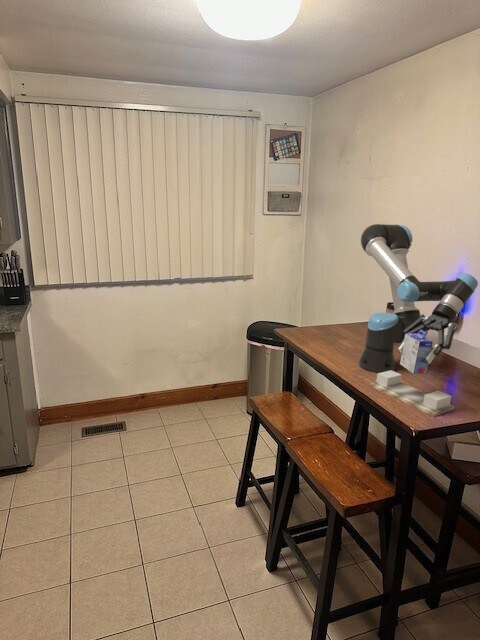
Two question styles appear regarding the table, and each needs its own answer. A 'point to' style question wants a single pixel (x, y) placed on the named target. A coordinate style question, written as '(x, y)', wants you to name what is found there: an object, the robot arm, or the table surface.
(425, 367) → the ink cartridge box
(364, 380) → the table surface
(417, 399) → the rail board
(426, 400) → the mounted modules
